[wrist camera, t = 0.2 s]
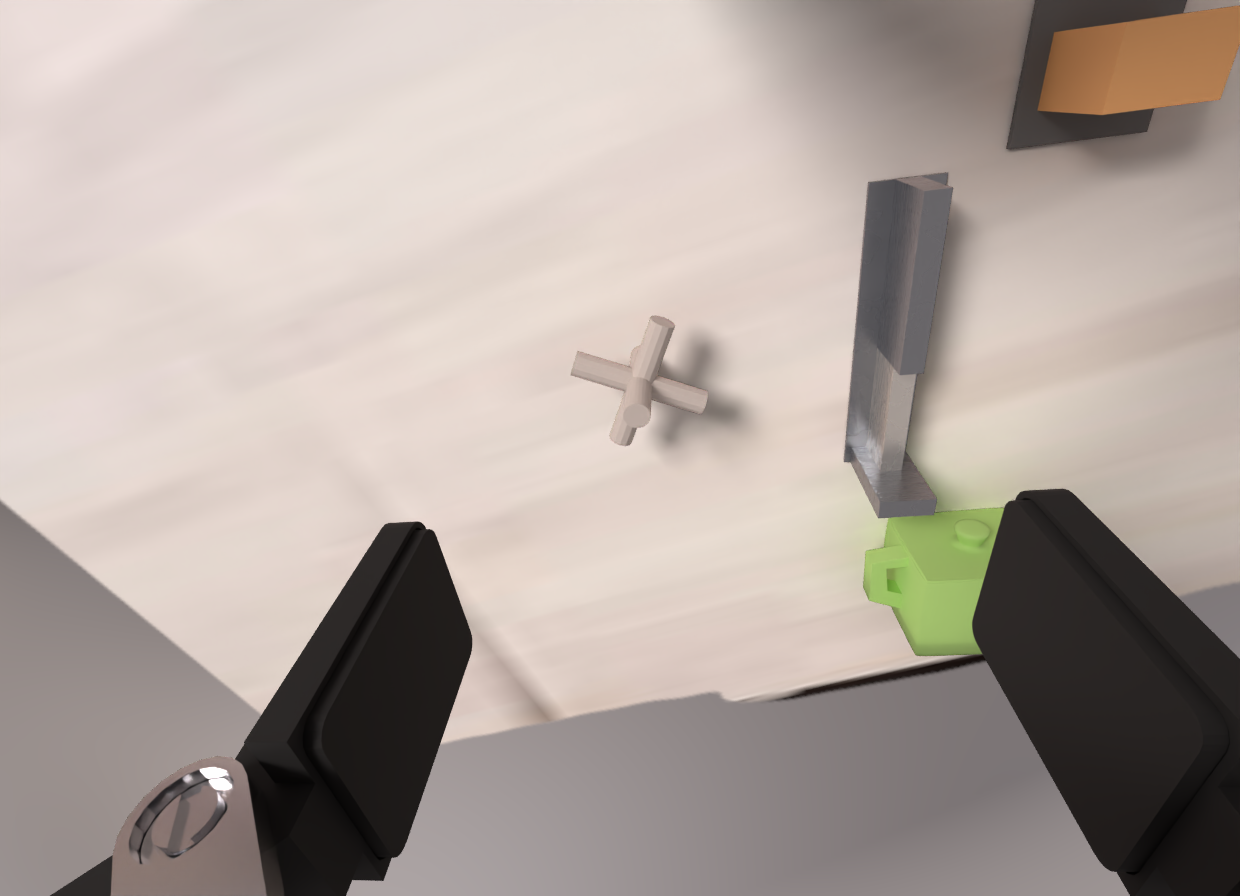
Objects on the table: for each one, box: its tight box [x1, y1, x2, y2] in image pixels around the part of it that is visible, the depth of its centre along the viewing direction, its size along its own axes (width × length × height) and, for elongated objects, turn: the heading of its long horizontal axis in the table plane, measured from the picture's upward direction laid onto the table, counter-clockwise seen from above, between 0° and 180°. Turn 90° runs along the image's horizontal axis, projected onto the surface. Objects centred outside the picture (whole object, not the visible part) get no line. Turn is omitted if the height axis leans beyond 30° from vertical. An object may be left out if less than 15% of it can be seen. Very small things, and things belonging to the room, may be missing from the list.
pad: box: [1006, 0, 1187, 149], centre depth 35 cm, size 8×8×1 cm
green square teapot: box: [863, 508, 1004, 656], centre depth 51 cm, size 18×10×10 cm, turn 99°
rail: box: [844, 173, 953, 518], centre depth 41 cm, size 22×5×8 cm, turn 7°
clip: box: [1037, 6, 1240, 115], centre depth 32 cm, size 4×6×6 cm
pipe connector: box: [571, 316, 708, 446], centre depth 43 cm, size 10×10×10 cm
